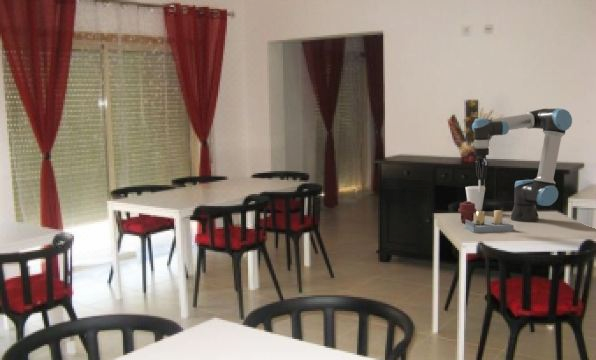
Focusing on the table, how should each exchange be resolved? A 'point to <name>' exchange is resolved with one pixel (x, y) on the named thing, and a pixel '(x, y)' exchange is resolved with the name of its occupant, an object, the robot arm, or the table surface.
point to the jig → (490, 224)
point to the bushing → (480, 218)
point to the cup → (475, 196)
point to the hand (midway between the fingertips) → (481, 191)
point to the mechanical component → (467, 211)
